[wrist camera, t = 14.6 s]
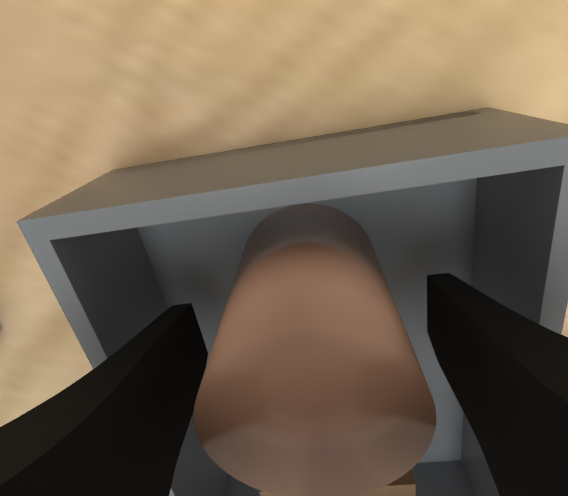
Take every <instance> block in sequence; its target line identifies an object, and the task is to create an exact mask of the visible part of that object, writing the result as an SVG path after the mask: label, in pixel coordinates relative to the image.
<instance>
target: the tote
mask: <svg viewBox="0 0 568 496" xmlns="http://www.w3.org/2000/svg"><path fill="white" fill-rule="evenodd" d="M297 204H320V205H326V206H329V207H333V208H336V209H338V210H340V211H342V212H344V213H346V214H347V215H349V216H351V217H352V218H353V219H354V220H356V221H357V222H358V223H359V224H360V225H361V226H362V228H363V229H364V230H365V232H366V233H367V235H368V236H369V239H370V241H371V243H372V245H373V248H374V250H375V253H376V255H377V258H378V260H379V263H380V265H381V268H382V271H383V273H384V276H385V278H386V281H387V283H388V286H389V288H390V291H391V293H392V296H393V298H394V301H395V303H396V306H397V308H398V311H399V313H400V316H401V319H402V321H403V324H404V326H405V329H406V331H407V334H408V336H409V339H410V341H411V344H412V346H413V349H414V351H415V354H416V356H417V359H418V362H419V364H420V367H421V369H422V372H423V374H424V377H425V379H426V382H427V384H428V387H429V389H430V392H431V394H432V397H433V401H434V404H435V407H436V418H437V420H436V429H435V433H434V436H433V439H432V442H431V444H430V446H429V448H428V450H427V451H426V453H425V454H424V456H423V457H422V458H421V460H420V461H419V462H418V463H417V464H416V465H415V466H414V467H413V468H412V473H413V476H414V480H415V484H416V496H500V495H499V493H498V490H497V487H496V485H495V482H494V480H493V477H492V474H491V472H490V469H489V467H488V464H487V462H486V459H485V457H484V454H483V452H482V449H481V447H480V445H479V443H478V440H477V438H476V436H475V434H474V432H473V430H472V428H471V426H470V424H469V422H468V420H467V418H466V416H465V414H464V412H463V410H462V408H461V406H460V404H459V402H458V400H457V398H456V396H455V395H454V393H453V391H452V389H451V387H450V385H449V383H448V381H447V379H446V377H445V375H444V373H443V371H442V369H441V367H440V365H439V363H438V361H437V358H436V355H435V353H434V350H433V347H432V344H431V341H430V338H429V335H428V332H427V275H433V274H442V273H450V274H452V275H454V276H455V277H457V278H459V279H461V280H462V281H464V282H465V283H467V284H469V285H470V286H472V287H474V288H475V289H477V290H479V291H480V292H482V293H483V294H485V295H487V296H488V297H490V298H492V299H494V300H495V301H497V302H499V303H500V304H502V305H504V306H506V307H507V308H509V309H511V310H513V311H515V312H517V313H518V314H520V315H522V316H524V317H526V318H528V319H530V320H532V321H534V322H536V323H538V324H540V325H542V326H544V327H546V328H548V329H550V330H552V331H554V332H556V333H559V334H561V333H562V328H563V323H564V318H565V313H566V308H567V302H568V124H563V123H559V122H554V121H549V120H545V119H540V118H535V117H531V116H526V115H521V114H517V113H512V112H507V111H503V110H498V109H493V108H484V109H478V110H472V111H466V112H460V113H454V114H448V115H442V116H436V117H430V118H424V119H418V120H412V121H406V122H400V123H394V124H388V125H382V126H376V127H370V128H364V129H358V130H352V131H346V132H340V133H334V134H328V135H322V136H316V137H310V138H304V139H298V140H292V141H286V142H280V143H274V144H268V145H262V146H256V147H250V148H244V149H238V150H232V151H226V152H220V153H214V154H208V155H202V156H196V157H190V158H184V159H178V160H172V161H166V162H160V163H154V164H148V165H142V166H136V167H130V168H124V169H118V170H112V171H110V172H108V173H106V174H104V175H102V176H101V177H99V178H97V179H95V180H93V181H91V182H89V183H88V184H86V185H84V186H82V187H80V188H78V189H76V190H74V191H73V192H71V193H69V194H67V195H65V196H63V197H61V198H60V199H58V200H56V201H54V202H52V203H50V204H48V205H46V206H45V207H43V208H41V209H39V210H37V211H35V212H33V213H31V214H30V215H28V216H26V217H24V218H22V219H20V220H18V221H17V223H18V225H19V227H20V229H21V231H22V233H23V235H24V237H25V239H26V241H27V243H28V244H29V246H30V248H31V250H32V252H33V254H34V256H35V258H36V260H37V262H38V264H39V266H40V268H41V269H42V271H43V273H44V275H45V277H46V279H47V281H48V283H49V285H50V287H51V289H52V291H53V293H54V294H55V296H56V298H57V300H58V302H59V304H60V306H61V308H62V310H63V312H64V314H65V316H66V318H67V319H68V321H69V323H70V325H71V327H72V329H73V331H74V333H75V335H76V337H77V339H78V341H79V343H80V344H81V346H82V348H83V350H84V352H85V354H86V356H87V358H88V360H89V362H90V364H91V366H92V368H93V369H94V368H96V367H97V366H98V365H100V364H101V363H102V362H103V361H105V360H106V359H107V358H109V357H110V356H111V355H112V354H114V353H115V352H116V351H118V350H119V349H120V348H121V347H123V346H124V345H125V344H126V343H128V342H129V341H130V340H131V339H132V338H133V337H135V336H136V335H137V334H138V333H139V332H141V331H142V330H143V329H144V328H145V327H147V326H148V325H149V324H150V323H151V322H152V321H154V320H155V319H156V318H157V317H158V316H160V315H161V314H162V313H163V312H165V311H166V310H167V309H169V308H170V307H171V306H173V305H179V304H188V303H192V306H193V309H194V312H195V315H196V318H197V321H198V324H199V327H200V330H201V333H202V336H203V339H204V342H205V345H206V348H207V351H208V357H207V363H208V360H209V356H210V353H211V350H212V347H213V344H214V341H215V338H216V335H217V332H218V329H219V325H220V322H221V319H222V316H223V313H224V310H225V307H226V304H227V301H228V297H229V294H230V291H231V288H232V285H233V282H234V279H235V276H236V273H237V270H238V266H239V263H240V260H241V257H242V254H243V251H244V248H245V245H246V242H247V240H248V238H249V236H250V234H251V233H252V231H253V230H254V229H255V228H256V226H257V225H258V224H259V223H260V222H261V221H262V220H264V219H265V218H266V217H268V216H269V215H270V214H272V213H274V212H276V211H278V210H280V209H283V208H285V207H288V206H293V205H297ZM207 363H206V366H207ZM169 496H260V493H259V490H258V489H255V488H253V487H251V486H248V485H246V484H244V483H242V482H241V481H239V480H237V479H235V478H234V477H232V476H231V475H229V474H228V473H226V472H225V471H224V470H223V469H222V468H220V467H219V466H218V465H217V464H216V463H215V462H214V461H213V460H212V459H211V458H210V457H209V455H208V454H207V452H206V451H205V450H204V448H203V446H202V444H201V442H200V440H199V438H198V436H197V432H196V429H195V424H194V412H193V415H192V418H191V420H190V423H189V426H188V429H187V432H186V435H185V438H184V441H183V444H182V447H181V450H180V454H179V457H178V461H177V464H176V468H175V472H174V476H173V481H172V485H171V489H170V494H169Z"/></svg>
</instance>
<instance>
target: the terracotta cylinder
mask: <svg viewBox="0 0 568 496" xmlns="http://www.w3.org/2000/svg"><path fill="white" fill-rule="evenodd" d="M436 420H437V418H436V407H435V404H434V401H433V397H432V394H431V392H430V389H429V387H428V384H427V382H426V379H425V377H424V374H423V372H422V369H421V367H420V364H419V362H418V359H417V356H416V354H415V351H414V349H413V346H412V344H411V341H410V339H409V336H408V334H407V331H406V329H405V326H404V324H403V321H402V319H401V316H400V313H399V311H398V308H397V306H396V303H395V301H394V298H393V296H392V293H391V291H390V288H389V286H388V283H387V281H386V278H385V276H384V273H383V271H382V268H381V265H380V263H379V260H378V258H377V255H376V253H375V250H374V248H373V245H372V243H371V241H370V239H369V236H368V235H367V233H366V232H365V230H364V229H363V228H362V226H361V225H360V224H359V223H358V222H357V221H356V220H354V219H353V218H352V217H351V216H349V215H347V214H346V213H344V212H342V211H340V210H338V209H336V208H333V207H329V206H326V205H320V204H297V205H293V206H288V207H285V208H283V209H280V210H278V211H276V212H274V213H272V214H270V215H269V216H268V217H266V218H265V219H264V220H262V221H261V222H260V223H259V224H258V225H257V226H256V228H255V229H254V230H253V231H252V233H251V234H250V236H249V238H248V240H247V242H246V245H245V248H244V251H243V254H242V257H241V260H240V263H239V266H238V270H237V273H236V276H235V279H234V282H233V285H232V288H231V291H230V294H229V297H228V301H227V304H226V307H225V310H224V313H223V316H222V319H221V322H220V325H219V329H218V332H217V335H216V338H215V341H214V344H213V347H212V350H211V353H210V356H209V360H208V363H207V366H206V369H205V372H204V375H203V378H202V381H201V384H200V388H199V391H198V394H197V397H196V401H195V405H194V424H195V429H196V432H197V436H198V438H199V440H200V442H201V444H202V446H203V448H204V450H205V451H206V452H207V454H208V455H209V457H210V458H211V459H212V460H213V461H214V462H215V463H216V464H217V465H218V466H219V467H220V468H222V469H223V470H224V471H225V472H226V473H228V474H229V475H231V476H232V477H234V478H235V479H237V480H239V481H241V482H242V483H244V484H246V485H248V486H251V487H253V488H255V489H258V490H260V491H263V492H267V493H270V494H273V495H277V496H358V495H361V494H365V493H368V492H371V491H374V490H377V489H379V488H382V487H384V486H386V485H388V484H390V483H392V482H394V481H395V480H397V479H398V478H400V477H402V476H403V475H404V474H406V473H407V472H408V471H409V470H411V469H412V468H413V467H414V466H415V465H416V464H417V463H418V462H419V461H420V460H421V458H422V457H423V456H424V454H425V453H426V451H427V450H428V448H429V446H430V444H431V442H432V439H433V436H434V433H435V429H436Z"/></svg>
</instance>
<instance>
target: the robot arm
mask: <svg viewBox="0 0 568 496" xmlns="http://www.w3.org/2000/svg"><path fill="white" fill-rule="evenodd" d="M427 332H428V335H429V338H430V341H431V344H432V347H433V350H434V353H435V355H436V358H437V361H438V363H439V365H440V367H441V369H442V371H443V373H444V375H445V377H446V379H447V381H448V383H449V385H450V387H451V389H452V391H453V393H454V395H455V396H456V398H457V400H458V402H459V404H460V406H461V408H462V410H463V412H464V414H465V416H466V418H467V420H468V422H469V424H470V426H471V428H472V430H473V432H474V434H475V436H476V438H477V440H478V443H479V445H480V447H481V449H482V452H483V454H484V457H485V459H486V462H487V464H488V467H489V469H490V472H491V474H492V477H493V480H494V482H495V485H496V487H497V490H498V493H499V495H500V496H568V337H565V336H563V335H561V334H559V333H556V332H554V331H552V330H550V329H548V328H546V327H544V326H542V325H540V324H538V323H536V322H534V321H532V320H530V319H528V318H526V317H524V316H522V315H520V314H518V313H517V312H515V311H513V310H511V309H509V308H507V307H506V306H504V305H502V304H500V303H499V302H497V301H495V300H494V299H492V298H490V297H488V296H487V295H485V294H483V293H482V292H480V291H479V290H477V289H475V288H474V287H472V286H470V285H469V284H467V283H465V282H464V281H462V280H461V279H459V278H457V277H455V276H454V275H452V274H450V273H442V274H433V275H427ZM207 357H208V351H207V348H206V345H205V342H204V339H203V336H202V333H201V330H200V327H199V324H198V321H197V318H196V315H195V312H194V309H193V306H192V303H188V304H179V305H173V306H171V307H170V308H169V309H167V310H166V311H165V312H163V313H162V314H161V315H160V316H158V317H157V318H156V319H155V320H154V321H152V322H151V323H150V324H149V325H148V326H147V327H145V328H144V329H143V330H142V331H141V332H139V333H138V334H137V335H136V336H135V337H133V338H132V339H131V340H130V341H129V342H128V343H126V344H125V345H124V346H123V347H121V348H120V349H119V350H118V351H116V352H115V353H114V354H112V355H111V356H110V357H109V358H107V359H106V360H105V361H103V362H102V363H101V364H100V365H98V366H97V367H96V368H94V369H93V370H92V371H90V372H89V373H88V374H86V375H85V376H83V377H82V378H81V379H79V380H78V381H76V382H75V383H73V384H72V385H70V386H69V387H67V388H66V389H64V390H63V391H61V392H60V393H58V394H57V395H55V396H53V397H52V398H50V399H48V400H47V401H45V402H43V403H42V404H40V405H38V406H37V407H35V408H33V409H31V410H30V411H28V412H26V413H25V414H23V415H21V416H20V417H18V418H16V419H14V420H13V421H11V422H9V423H7V424H5V425H3V426H2V427H0V496H169V494H170V489H171V485H172V481H173V476H174V472H175V468H176V464H177V461H178V457H179V454H180V450H181V447H182V444H183V441H184V438H185V435H186V432H187V429H188V426H189V423H190V420H191V418H192V415H193V412H194V405H195V401H196V397H197V394H198V391H199V388H200V384H201V381H202V378H203V375H204V372H205V369H206V363H207Z"/></svg>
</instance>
